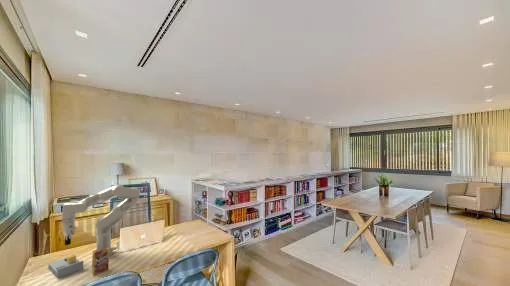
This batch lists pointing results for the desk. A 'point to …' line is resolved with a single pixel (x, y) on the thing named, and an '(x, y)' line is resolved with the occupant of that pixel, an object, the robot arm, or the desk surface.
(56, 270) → the board
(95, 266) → the candy box
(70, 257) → the block
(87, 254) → the desk surface
